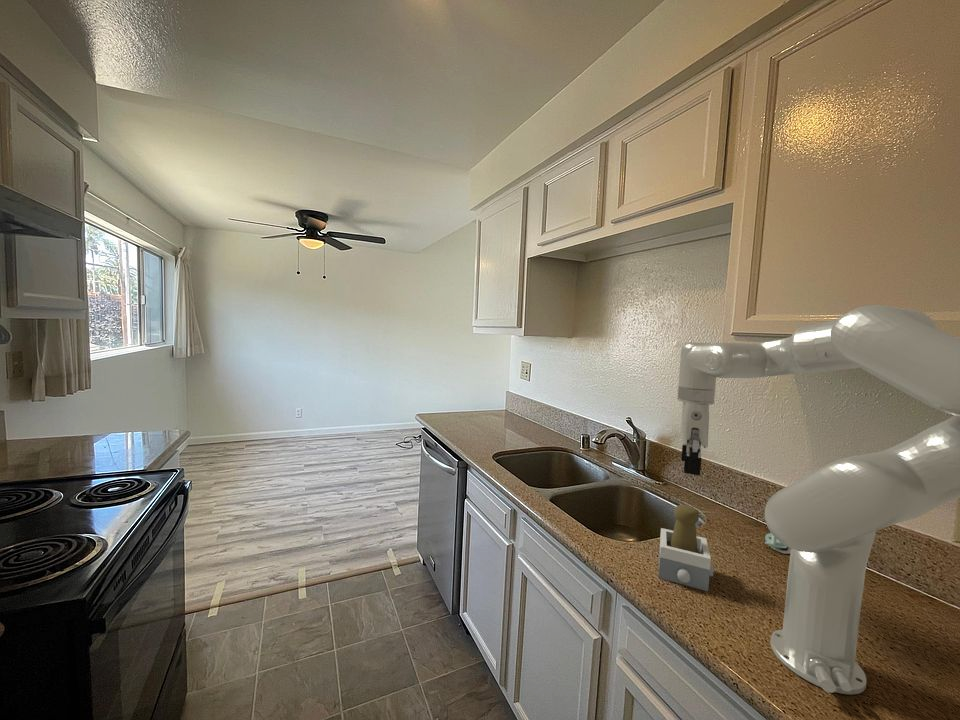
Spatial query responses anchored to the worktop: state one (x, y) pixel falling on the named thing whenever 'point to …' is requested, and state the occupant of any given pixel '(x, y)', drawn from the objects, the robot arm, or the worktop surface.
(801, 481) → the robot arm
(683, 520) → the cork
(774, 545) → the pacifier
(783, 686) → the worktop surface
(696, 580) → the grey plastic box
